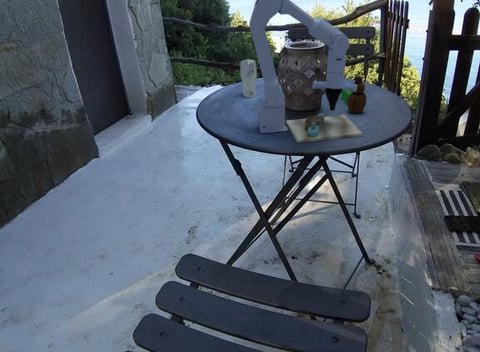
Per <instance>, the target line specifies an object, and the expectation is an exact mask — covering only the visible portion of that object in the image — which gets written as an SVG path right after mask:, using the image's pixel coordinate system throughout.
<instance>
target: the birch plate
mask: <svg viewBox="0 0 480 352" xmlns="http://www.w3.org/2000/svg"><path fill="white" fill-rule="evenodd" d="M305 120H306V118H301V119H300V118H299V119H289V120H285V125H286V126H287V128H288V130H289V131H290V133H291V135H292V136H293V138H294V140H295V141H296V143H306V142H307V143H308V142H316V141H317V142H318V141H327V140H337V139H347V138H357V137H359V138H360V137H363V132H362V131H361V130H360V129H359V128H358V127H357V126H356V125H355V124H354V123H353V121H352V120H350V119H349V118H348V117H347V116H346V114H342V115H331V116H324V121H323V123H322V125H321V127H320V129H319V135H318V136H309V135H308V131H307V130H305Z"/></svg>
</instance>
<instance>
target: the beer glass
mask: <svg viewBox="0 0 480 352" xmlns="http://www.w3.org/2000/svg"><path fill="white" fill-rule="evenodd" d="M256 62H257V61H256V60H255V59H243V60H241V61H240V78H241V81H242V89H243V90H242V96H243V95H244V96H246V97H245V98H255V97H256V96H257V91H256V81H257V63H256ZM244 96H243V97H244Z"/></svg>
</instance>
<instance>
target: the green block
mask: <svg viewBox="0 0 480 352" xmlns="http://www.w3.org/2000/svg"><path fill="white" fill-rule="evenodd" d="M351 93H353V92H352V91H347V90H343V91H342V92H341V94H340V96H341V97H340V99H341V100H343V101H344V103H345V104H346V105H347V99H348V96H349V95H350V94H351Z"/></svg>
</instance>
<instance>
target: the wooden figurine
mask: <svg viewBox="0 0 480 352" xmlns="http://www.w3.org/2000/svg"><path fill="white" fill-rule="evenodd" d="M354 80H355V81H354V82H353V84H357V90H356V92H353V91H352V92H353V93H351V94H350V95H349V96H348V99H347V104H346V106H347V110H348V111H349V112H350V113H351V114H359V113H362V112H363V111H364V109H365V107H366V106H367V94H366V93H365V90H366V84H365V83H364V82H363V77H361V75H360V73H359V74H358V73H355V78H354Z"/></svg>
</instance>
